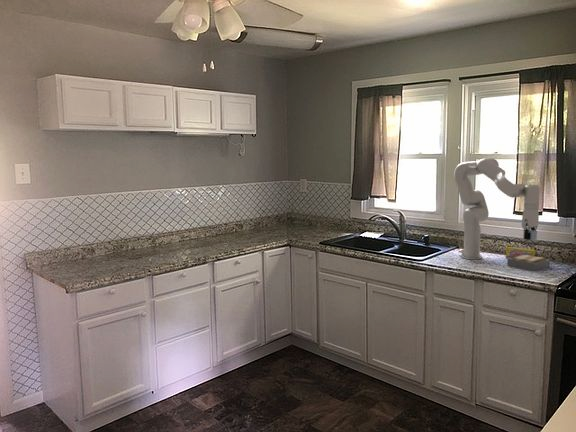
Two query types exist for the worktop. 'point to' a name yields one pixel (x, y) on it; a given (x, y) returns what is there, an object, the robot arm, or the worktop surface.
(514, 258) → the maple block
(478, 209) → the robot arm
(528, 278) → the worktop surface
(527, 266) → the tote
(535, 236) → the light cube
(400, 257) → the worktop surface
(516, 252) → the candy box
